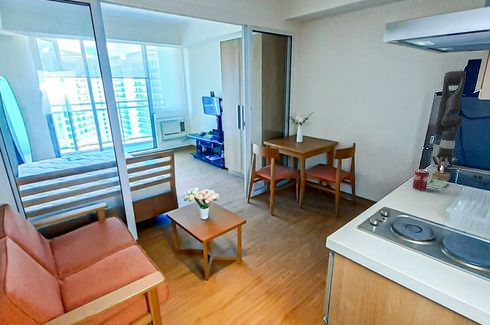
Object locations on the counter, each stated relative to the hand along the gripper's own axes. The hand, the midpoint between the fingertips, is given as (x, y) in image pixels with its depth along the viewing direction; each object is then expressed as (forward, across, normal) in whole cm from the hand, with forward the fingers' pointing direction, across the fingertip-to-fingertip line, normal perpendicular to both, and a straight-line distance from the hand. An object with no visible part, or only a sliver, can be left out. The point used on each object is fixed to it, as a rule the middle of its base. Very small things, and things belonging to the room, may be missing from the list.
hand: (441, 171), depth 171 cm
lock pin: (+5, 0, 0) cm, 5 cm away
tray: (+6, -1, +13) cm, 14 cm away
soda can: (+6, +5, +26) cm, 27 cm away
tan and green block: (+6, 0, +2) cm, 6 cm away
